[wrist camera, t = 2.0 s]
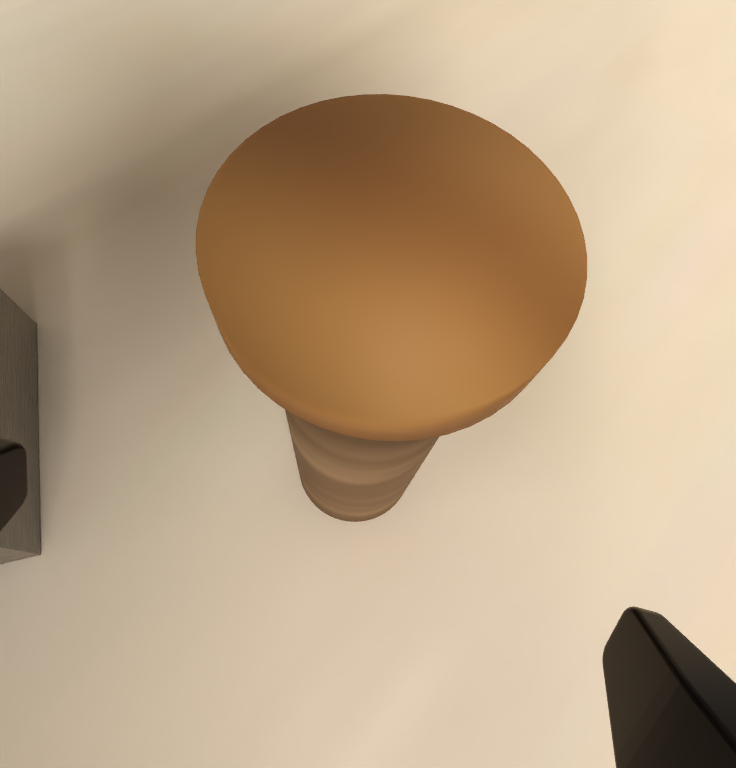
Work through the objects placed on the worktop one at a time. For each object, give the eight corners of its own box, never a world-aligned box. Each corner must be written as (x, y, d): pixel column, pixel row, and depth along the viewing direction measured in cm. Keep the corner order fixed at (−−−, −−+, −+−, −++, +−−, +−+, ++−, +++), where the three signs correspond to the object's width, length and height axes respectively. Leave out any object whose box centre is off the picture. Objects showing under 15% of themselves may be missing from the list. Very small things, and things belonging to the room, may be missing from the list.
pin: (386, 571, 18) (499, 498, 6) (250, 494, 19) (109, 292, 7) (452, 437, 20) (634, 183, 8) (327, 372, 21) (323, 49, 9)
